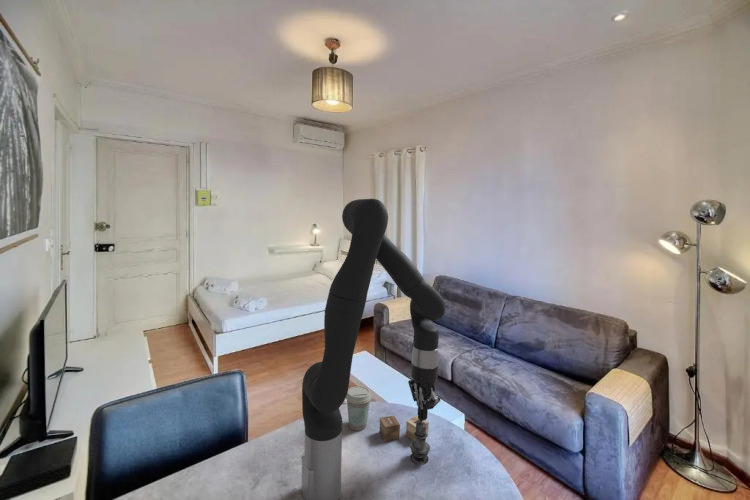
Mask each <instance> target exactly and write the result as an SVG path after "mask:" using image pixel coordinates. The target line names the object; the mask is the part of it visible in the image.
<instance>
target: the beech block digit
mask: <svg viewBox="0 0 750 500" xmlns="http://www.w3.org/2000/svg"><path fill="white" fill-rule="evenodd" d="M419 421H420V420H419V419H418V414H417V415H414V416H413V417H411V418H409V419H408V420H406V426H405V429H406V430H405V436H407V438H409V439H410V440H412V441H415V435H414V433H415V432H416V423H417V422H419ZM422 422H424V423H425V424H426V434H427V437H426V438H428V437H429V423H430V422H429V421H427V419H426V420H424V421H422Z"/></svg>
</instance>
